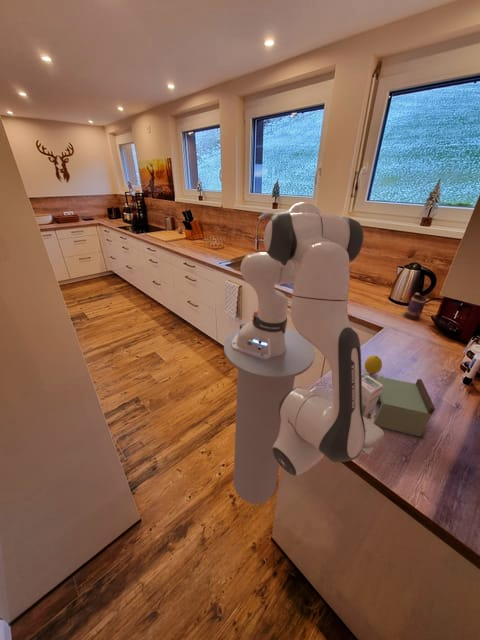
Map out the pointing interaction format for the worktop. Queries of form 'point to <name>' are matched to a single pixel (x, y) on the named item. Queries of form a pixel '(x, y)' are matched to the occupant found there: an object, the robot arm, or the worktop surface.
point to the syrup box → (369, 394)
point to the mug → (415, 307)
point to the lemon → (373, 364)
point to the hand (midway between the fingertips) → (357, 402)
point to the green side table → (403, 406)
